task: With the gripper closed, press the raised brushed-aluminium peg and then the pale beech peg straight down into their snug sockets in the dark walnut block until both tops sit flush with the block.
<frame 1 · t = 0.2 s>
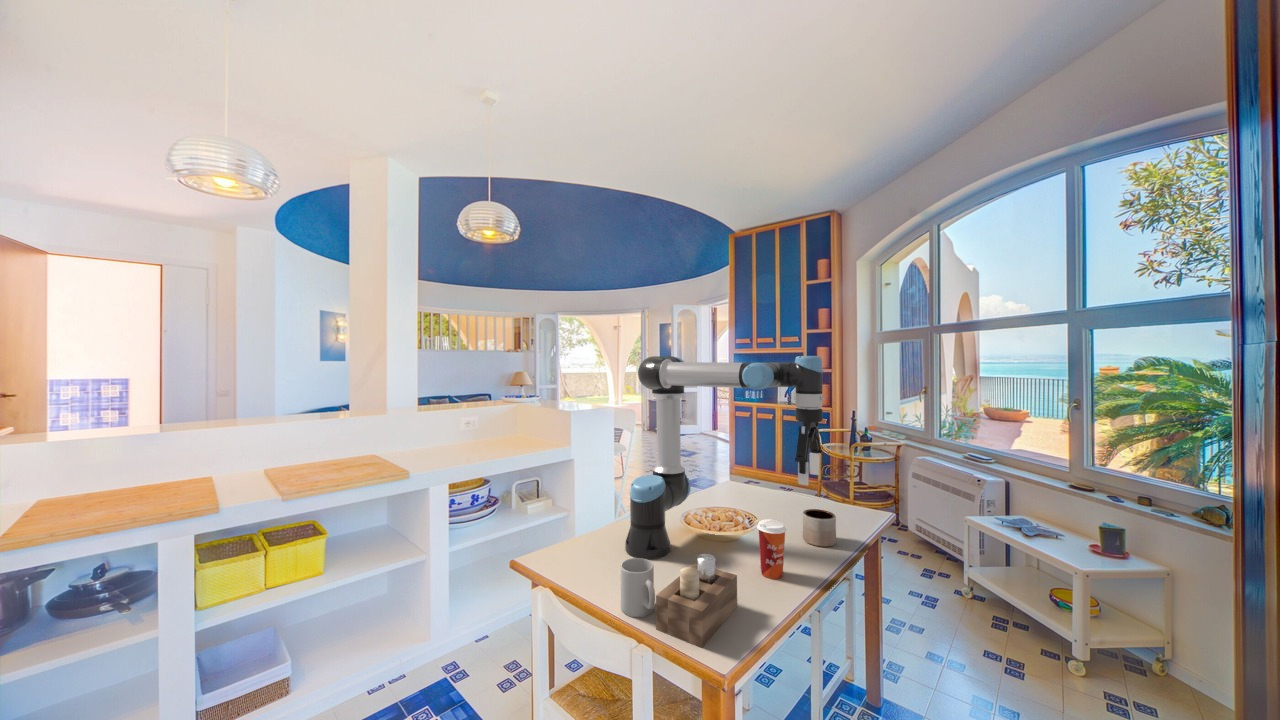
hand: (809, 479, 132), 28 cm above the table, fingers open, 13 cm apart
planter: (819, 542, 155), on the table
mug: (640, 612, 112), on the table
walnut socket block: (698, 617, 109), on the table
coffee cup: (772, 574, 131), on the table
aluminium peg: (706, 573, 113), point 9 cm above the table, slide at 5.0 cm
beech peg: (689, 588, 105), point 9 cm above the table, slide at 5.0 cm
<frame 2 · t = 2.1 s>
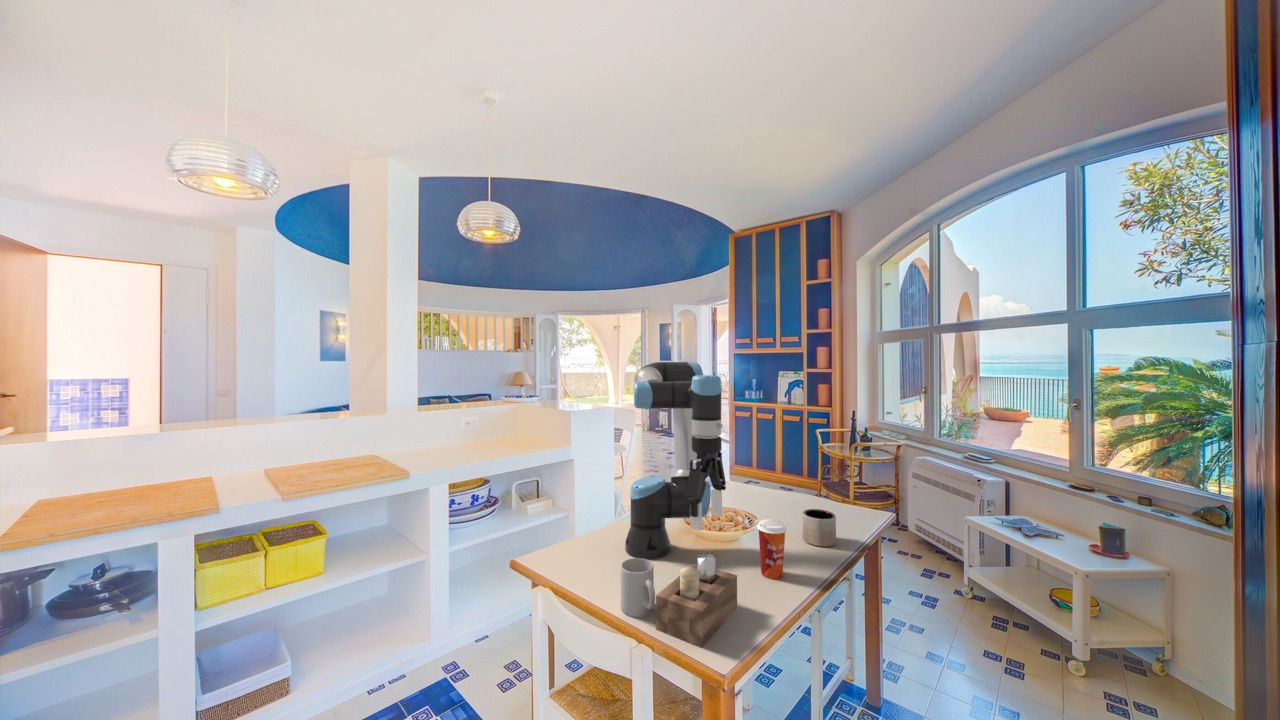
hand: (706, 521, 113), 22 cm above the table, fingers open, 11 cm apart
nothing on the table moved.
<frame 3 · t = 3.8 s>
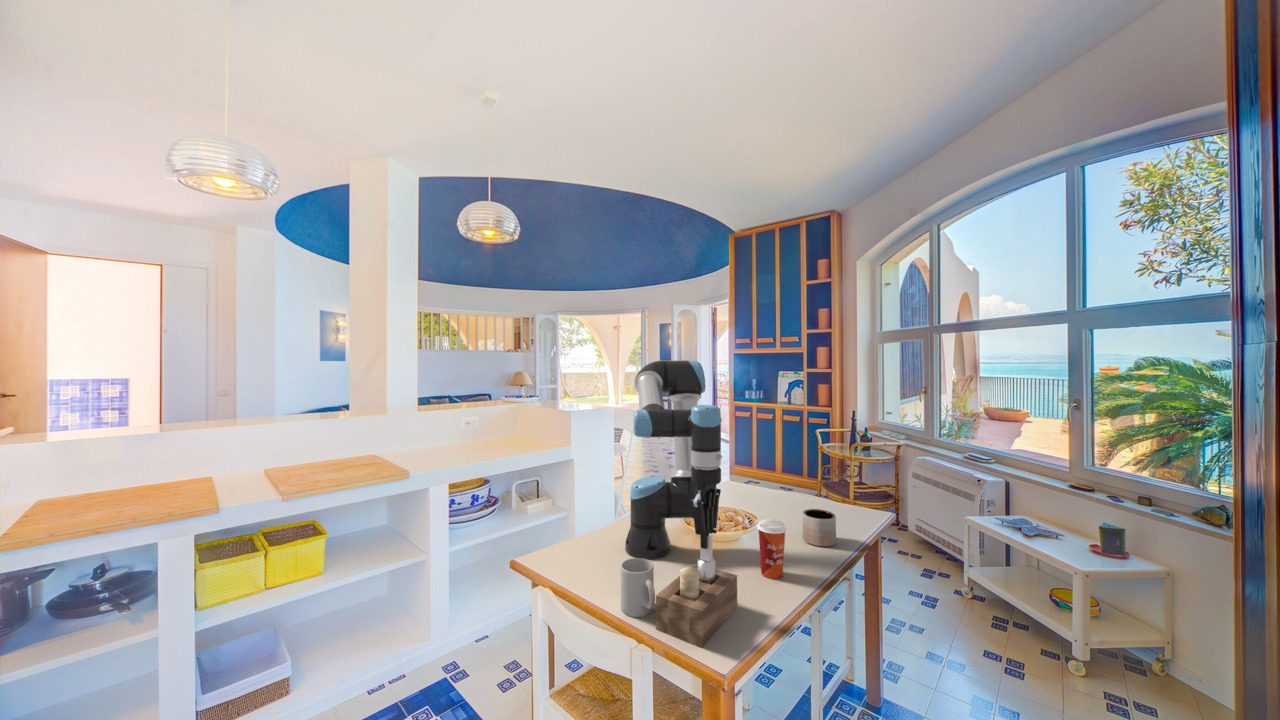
hand: (706, 559, 113), 13 cm above the table, fingers closed
aluminium peg: (706, 575, 113), point 8 cm above the table, slide at 4.4 cm, touching gripper
everything else where it was.
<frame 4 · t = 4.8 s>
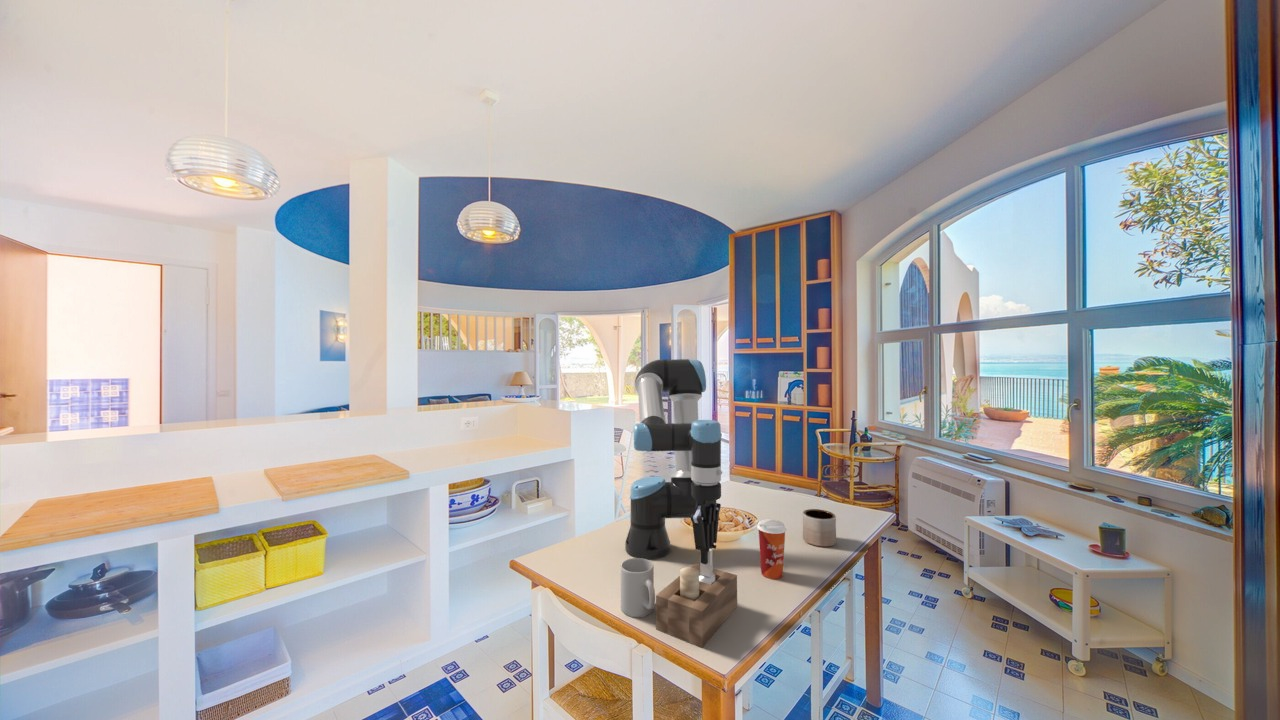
hand: (706, 574, 113), 9 cm above the table, fingers closed
aluminium peg: (706, 591, 113), point 5 cm above the table, slide at 0.5 cm, touching gripper
everything else where it was.
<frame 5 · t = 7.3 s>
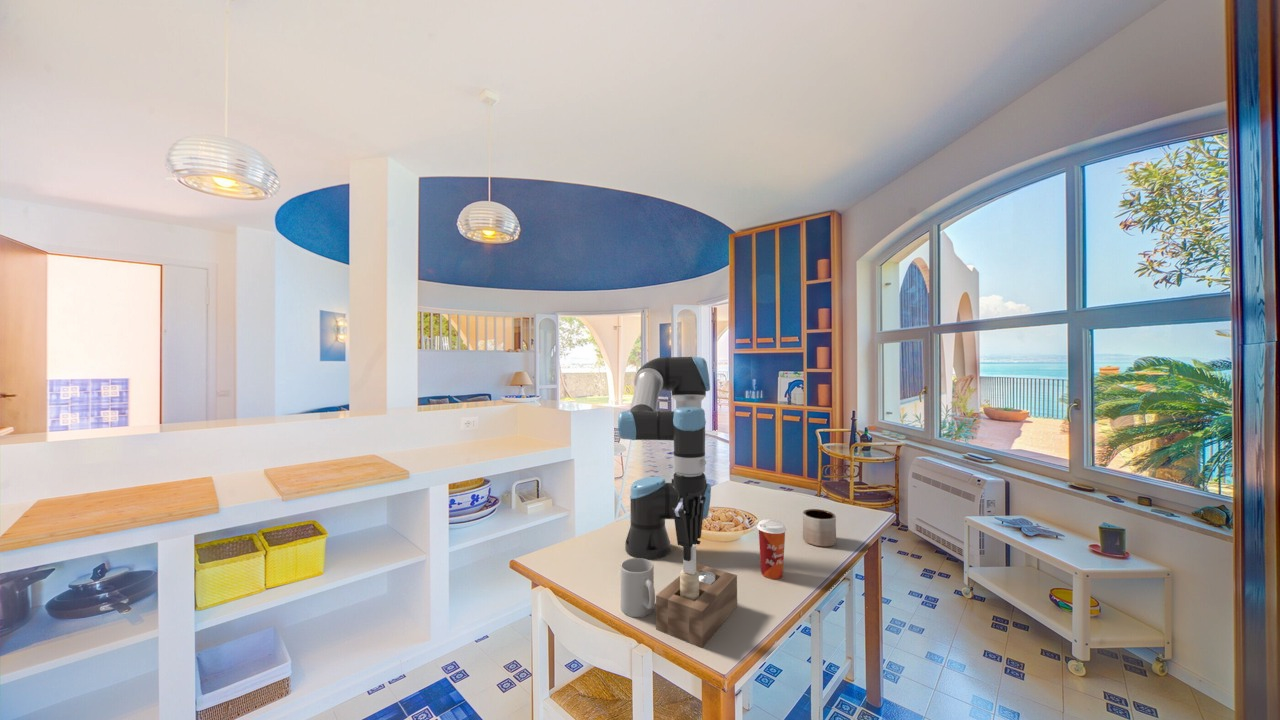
hand: (689, 572, 105), 13 cm above the table, fingers closed
aluminium peg: (706, 591, 113), point 5 cm above the table, slide at 0.5 cm
beech peg: (689, 589, 105), point 9 cm above the table, slide at 4.7 cm, touching gripper
everything else where it was.
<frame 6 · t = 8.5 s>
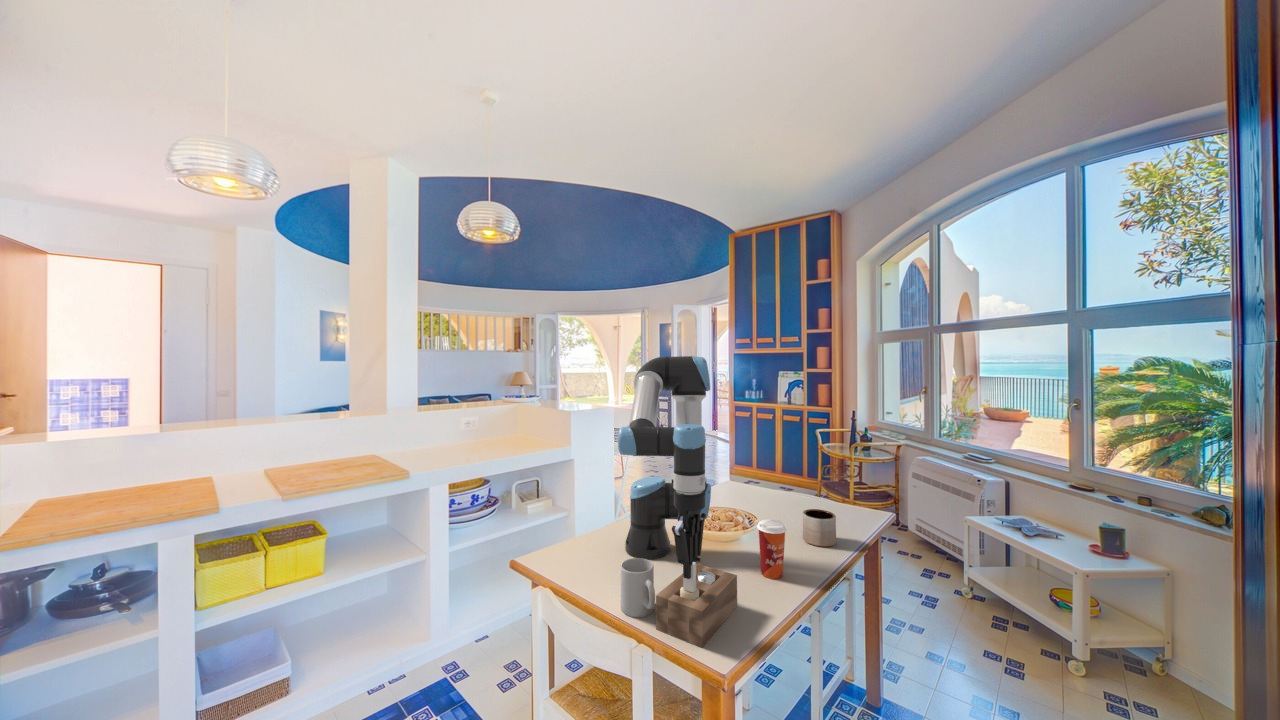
hand: (689, 589, 105), 9 cm above the table, fingers closed
beech peg: (689, 607, 105), point 5 cm above the table, slide at 0.5 cm, touching gripper
everything else where it was.
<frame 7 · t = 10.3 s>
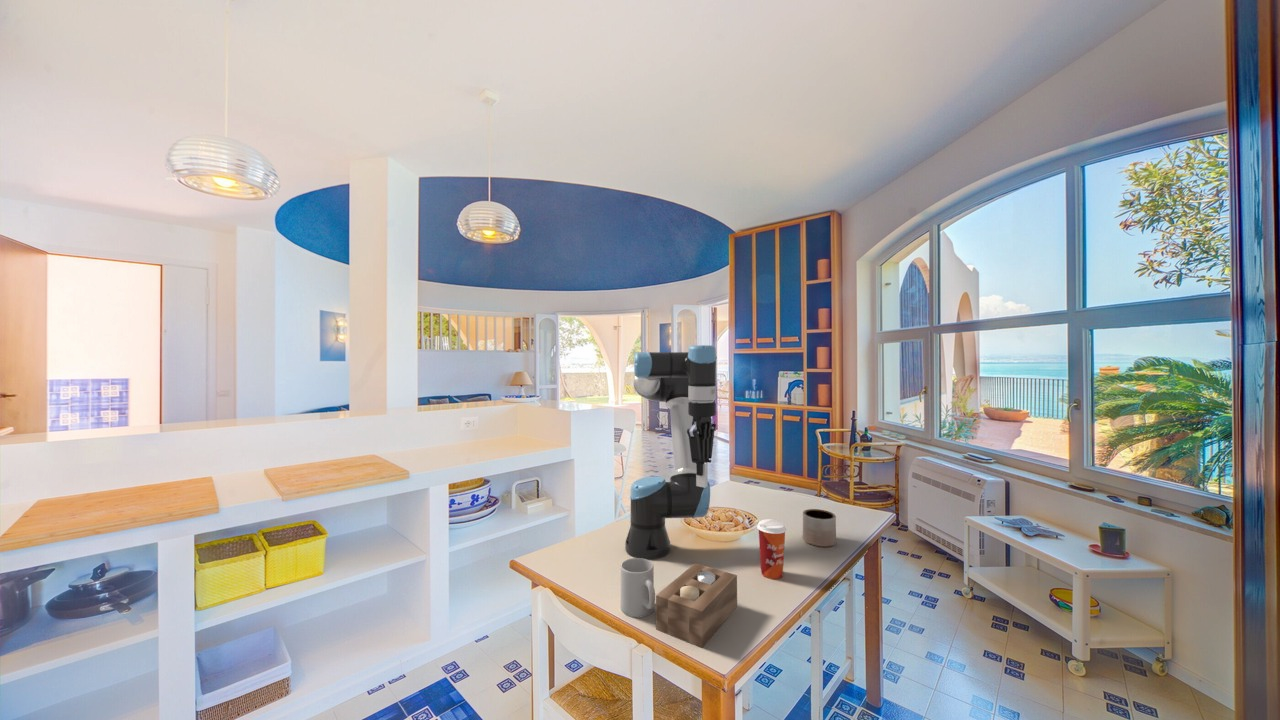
hand: (701, 486, 123), 28 cm above the table, fingers closed
beech peg: (689, 607, 105), point 5 cm above the table, slide at 0.5 cm
everything else where it was.
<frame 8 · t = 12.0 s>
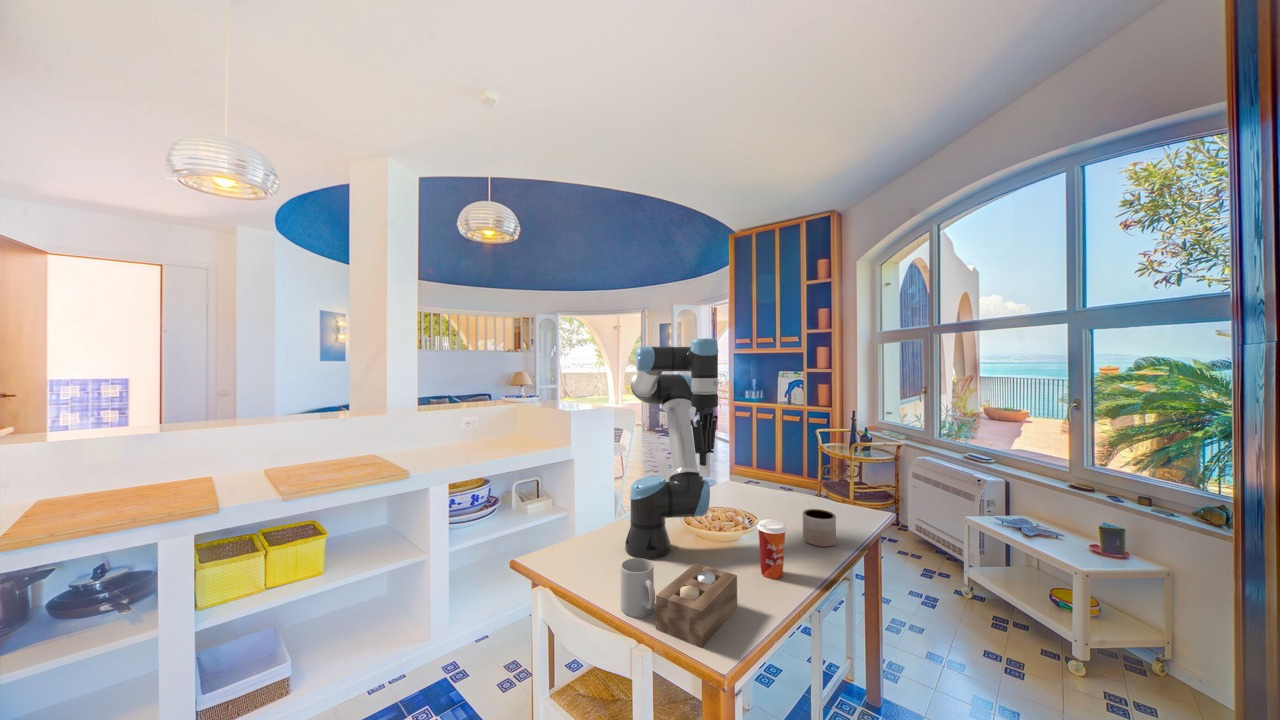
hand: (704, 476, 126), 30 cm above the table, fingers closed
nothing on the table moved.
at the end: aluminium peg slide at 0.5 cm; beech peg slide at 0.5 cm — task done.
